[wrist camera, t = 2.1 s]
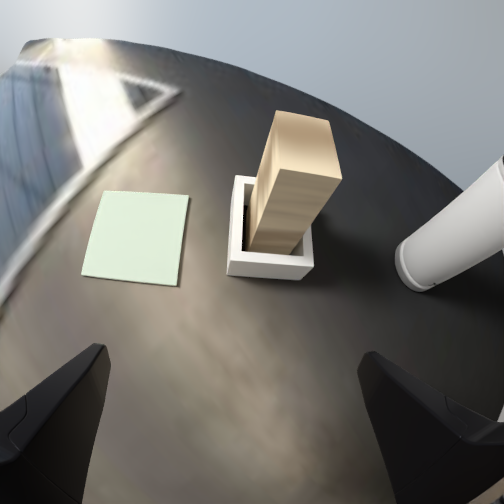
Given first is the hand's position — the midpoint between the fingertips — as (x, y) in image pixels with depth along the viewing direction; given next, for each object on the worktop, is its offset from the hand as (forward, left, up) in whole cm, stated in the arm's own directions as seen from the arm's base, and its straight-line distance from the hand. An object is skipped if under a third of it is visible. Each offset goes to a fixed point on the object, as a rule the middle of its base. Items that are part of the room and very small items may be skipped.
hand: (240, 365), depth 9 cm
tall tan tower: (+6, -11, -14) cm, 19 cm away
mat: (+14, -2, -14) cm, 20 cm away
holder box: (+6, -11, -14) cm, 19 cm away
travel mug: (-8, -22, -14) cm, 27 cm away
